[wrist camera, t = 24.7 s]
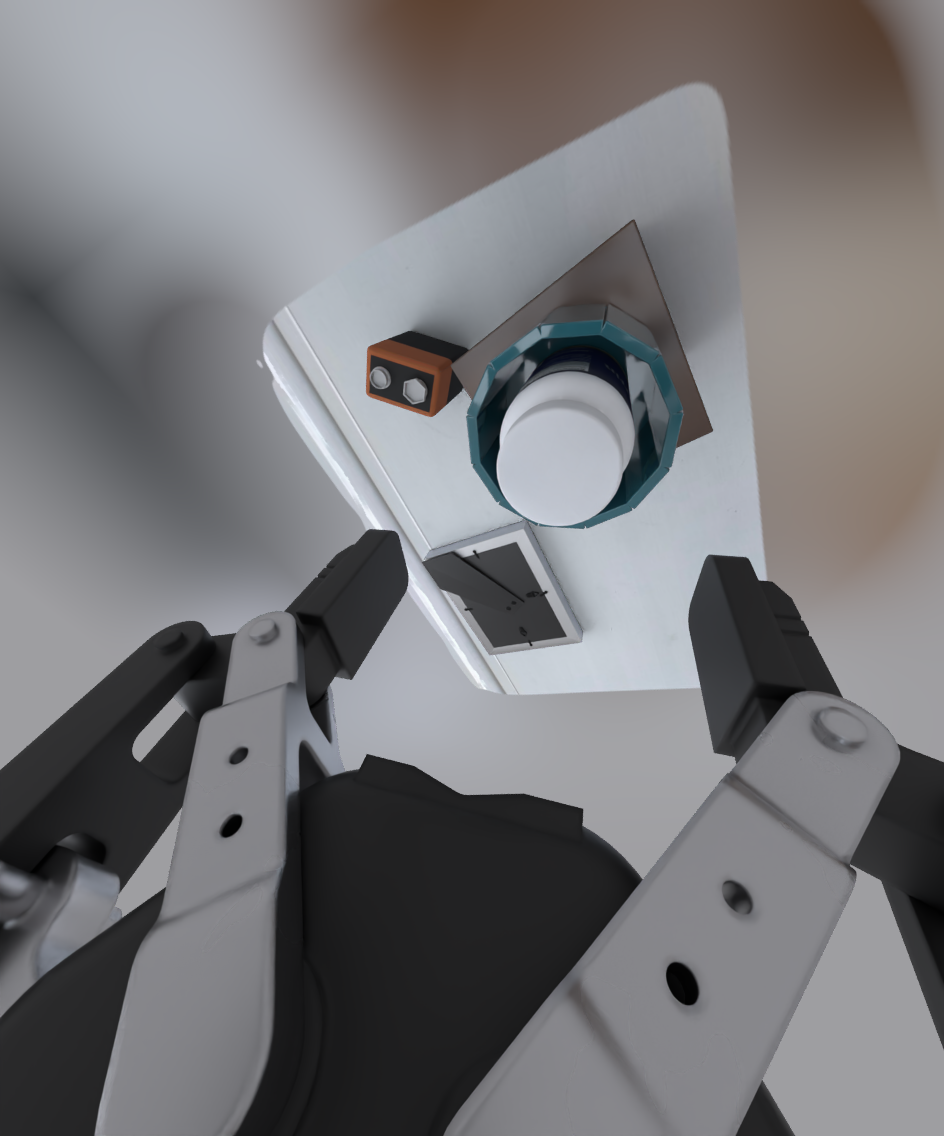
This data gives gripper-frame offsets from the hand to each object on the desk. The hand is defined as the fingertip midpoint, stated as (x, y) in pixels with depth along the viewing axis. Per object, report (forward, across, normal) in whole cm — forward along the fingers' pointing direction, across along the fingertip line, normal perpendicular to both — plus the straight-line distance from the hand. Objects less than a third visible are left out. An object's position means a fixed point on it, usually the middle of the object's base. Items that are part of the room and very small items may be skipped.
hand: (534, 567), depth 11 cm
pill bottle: (+16, 0, 0) cm, 16 cm away
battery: (+34, +15, +1) cm, 38 cm away
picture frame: (+34, +9, +32) cm, 48 cm away
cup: (+16, 0, 0) cm, 16 cm away
